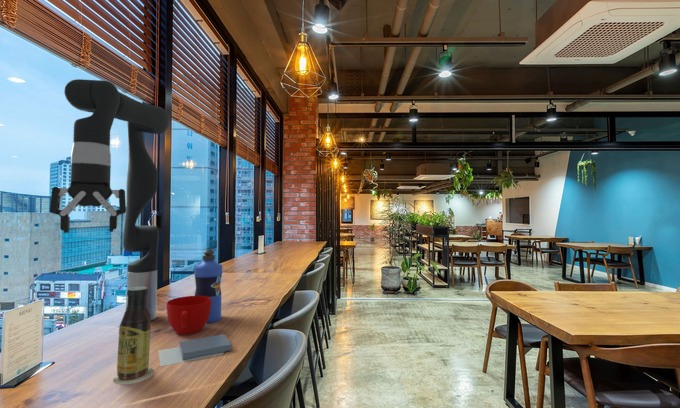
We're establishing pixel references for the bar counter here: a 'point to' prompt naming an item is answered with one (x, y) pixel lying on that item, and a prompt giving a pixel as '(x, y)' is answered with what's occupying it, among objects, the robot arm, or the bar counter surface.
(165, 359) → the mat
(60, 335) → the bar counter surface
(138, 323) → the sauce bottle
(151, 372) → the coaster
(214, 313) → the water bottle
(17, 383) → the bar counter surface
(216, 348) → the tile
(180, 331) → the ceramic cup
